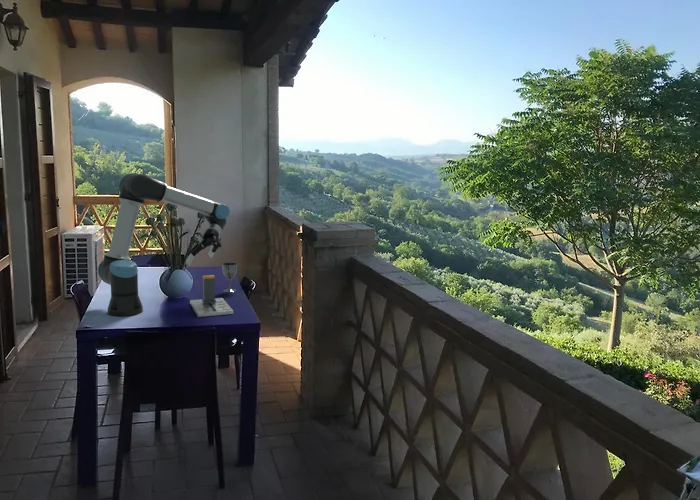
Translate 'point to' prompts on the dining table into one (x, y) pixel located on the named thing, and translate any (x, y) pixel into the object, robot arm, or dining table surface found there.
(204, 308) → the plate
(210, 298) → the block
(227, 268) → the wine glass
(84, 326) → the dining table surface
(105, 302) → the dining table surface
